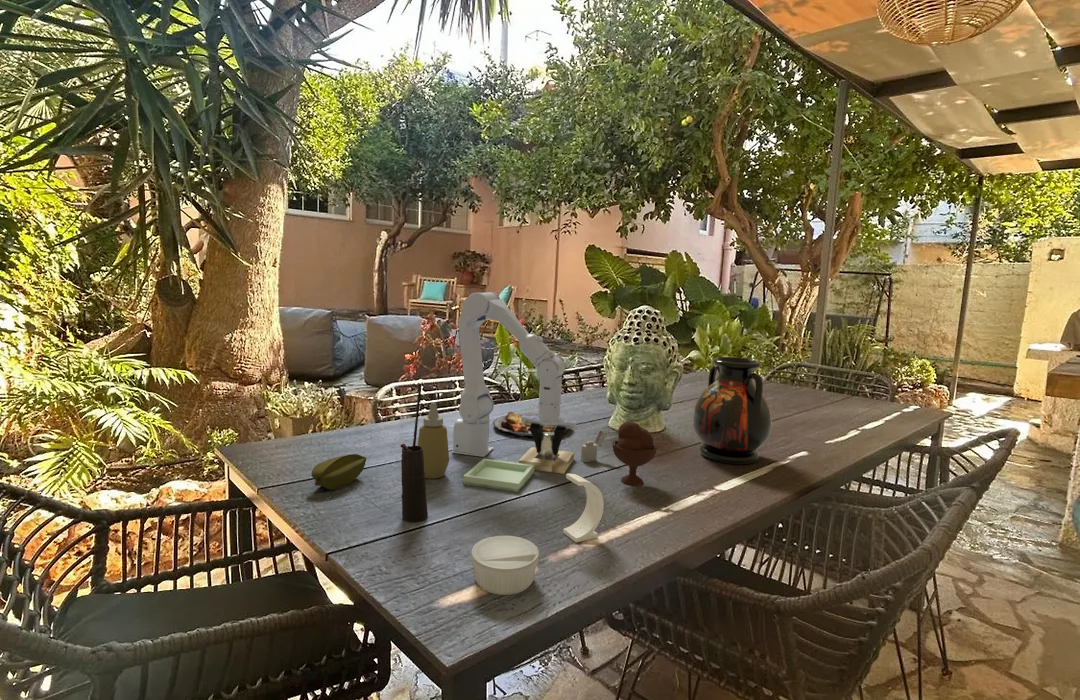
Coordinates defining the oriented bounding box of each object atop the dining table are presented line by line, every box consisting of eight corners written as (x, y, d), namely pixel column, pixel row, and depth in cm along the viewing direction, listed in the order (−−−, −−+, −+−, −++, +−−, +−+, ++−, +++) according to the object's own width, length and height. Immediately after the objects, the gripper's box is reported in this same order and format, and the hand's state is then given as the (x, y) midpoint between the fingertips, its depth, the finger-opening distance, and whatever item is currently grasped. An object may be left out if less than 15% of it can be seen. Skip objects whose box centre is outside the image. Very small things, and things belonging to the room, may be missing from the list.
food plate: (481, 434, 180) (482, 422, 180) (507, 416, 202) (508, 406, 202) (560, 444, 173) (560, 432, 173) (578, 425, 195) (578, 414, 195)
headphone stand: (563, 532, 115) (566, 473, 113) (588, 527, 117) (592, 469, 116) (575, 542, 111) (579, 481, 109) (601, 536, 113) (605, 477, 112)
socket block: (518, 467, 150) (518, 460, 150) (531, 454, 162) (531, 447, 162) (563, 473, 147) (564, 466, 147) (573, 459, 159) (574, 452, 159)
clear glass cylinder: (537, 464, 153) (538, 435, 152) (541, 460, 157) (542, 431, 156) (552, 466, 152) (553, 437, 151) (556, 462, 156) (557, 433, 155)
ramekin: (503, 608, 88) (505, 576, 88) (455, 580, 96) (456, 550, 95) (552, 581, 97) (553, 551, 96) (504, 557, 104) (505, 529, 103)
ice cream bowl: (627, 492, 137) (632, 430, 135) (601, 476, 147) (605, 418, 144) (663, 486, 142) (668, 426, 140) (635, 471, 151) (639, 415, 149)
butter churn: (377, 514, 119) (377, 379, 115) (417, 502, 126) (419, 374, 122) (401, 530, 113) (402, 387, 109) (442, 517, 119) (445, 382, 115)
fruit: (313, 477, 138) (312, 450, 137) (366, 474, 142) (366, 447, 141) (311, 496, 127) (310, 466, 126) (368, 491, 131) (368, 463, 130)
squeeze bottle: (454, 472, 145) (456, 401, 143) (438, 483, 138) (440, 408, 135) (426, 467, 148) (427, 397, 145) (408, 477, 140) (409, 404, 138)
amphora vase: (673, 449, 172) (681, 355, 168) (728, 442, 182) (736, 353, 178) (727, 473, 153) (737, 368, 149) (785, 463, 163) (795, 365, 159)
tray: (462, 484, 138) (463, 475, 137) (483, 466, 151) (483, 458, 150) (518, 492, 134) (518, 483, 134) (534, 472, 147) (534, 465, 147)
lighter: (584, 462, 157) (585, 433, 156) (580, 460, 159) (582, 431, 157) (605, 458, 161) (607, 430, 159) (601, 457, 162) (603, 429, 161)
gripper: (518, 402, 150) (516, 453, 152) (573, 408, 147) (571, 460, 149) (526, 397, 157) (524, 446, 159) (579, 402, 154) (576, 452, 155)
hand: (547, 452), depth 154 cm, fingers closed on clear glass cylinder, 4 cm apart
